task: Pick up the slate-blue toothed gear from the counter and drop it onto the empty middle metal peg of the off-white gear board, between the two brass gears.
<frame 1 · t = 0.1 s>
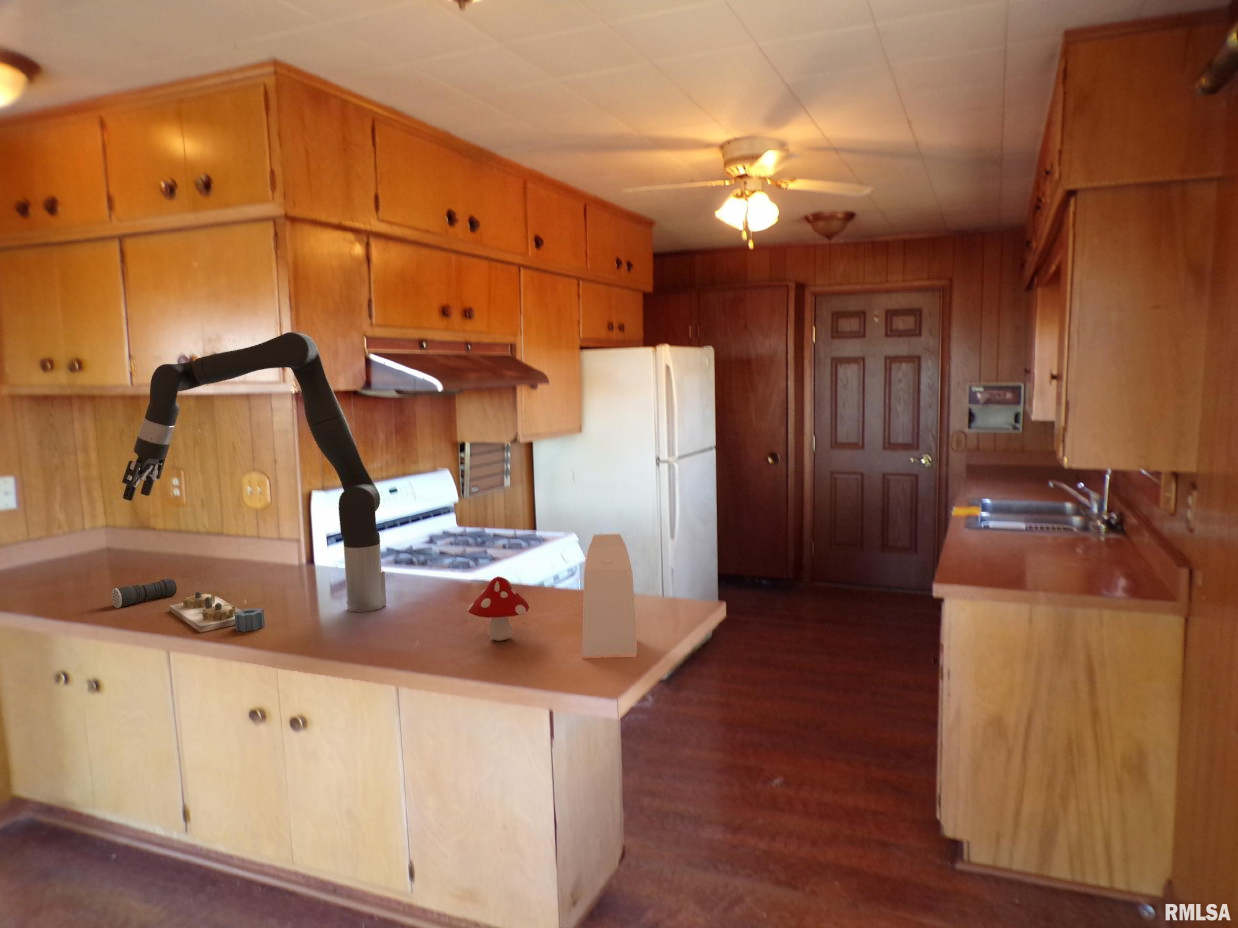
hand: (136, 497, 211), 31 cm above the table, fingers open, 8 cm apart
loose gear: (250, 627, 203), on the table
decorative mushroom: (501, 640, 190), on the table
flashlight: (145, 602, 229), on the table
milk: (609, 649, 183), on the table
gear board: (209, 616, 213), on the table
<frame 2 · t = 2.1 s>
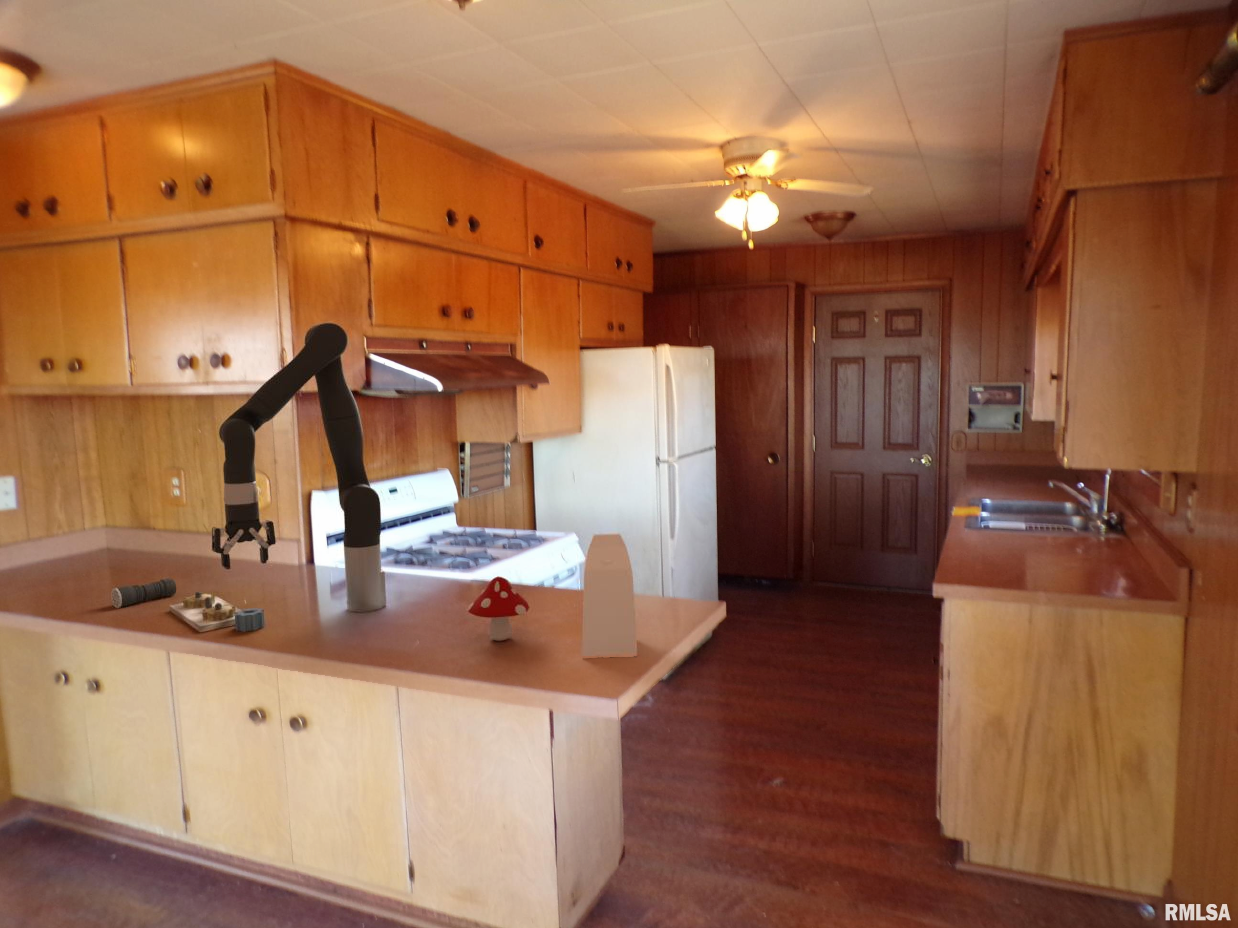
hand: (245, 565, 201), 16 cm above the table, fingers open, 8 cm apart
nothing on the table moved.
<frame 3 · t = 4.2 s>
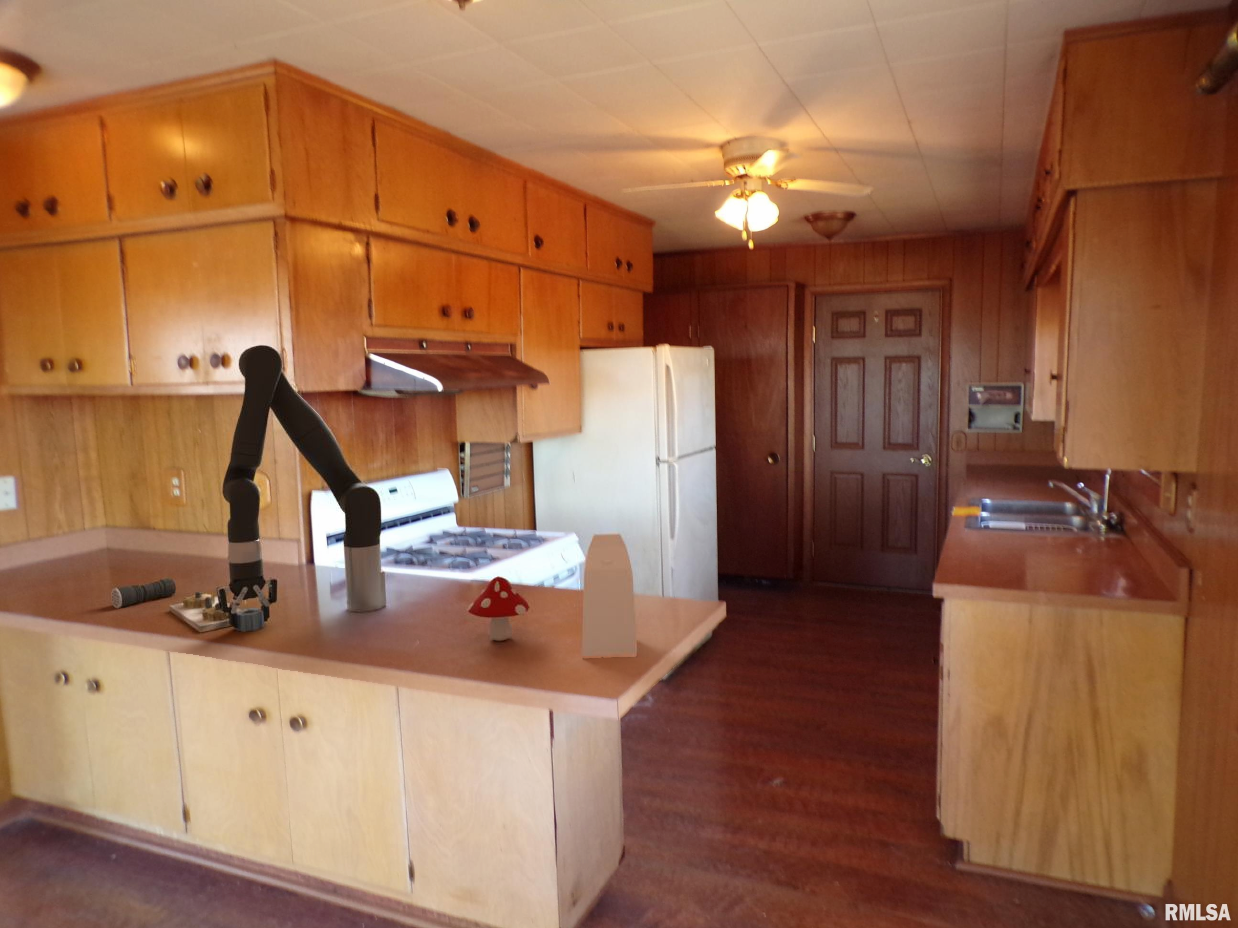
hand: (250, 623, 203), 1 cm above the table, fingers closed on loose gear, 6 cm apart
loose gear: (250, 627, 203), on the table, touching gripper
everything else where it was.
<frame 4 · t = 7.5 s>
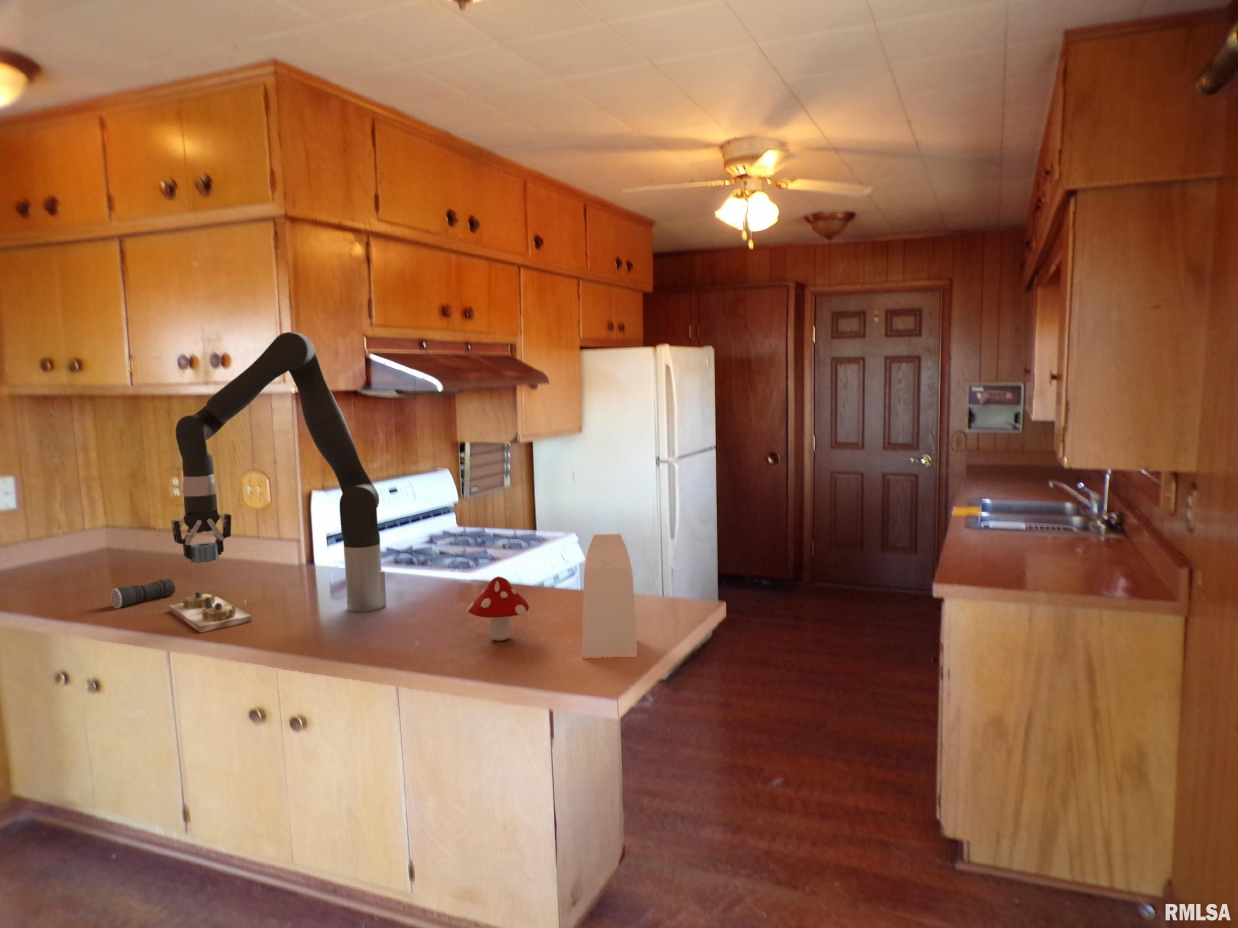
hand: (204, 556, 211), 16 cm above the table, fingers closed on loose gear, 6 cm apart
loose gear: (204, 559, 211), point 15 cm above the table, touching gripper
everything else where it was.
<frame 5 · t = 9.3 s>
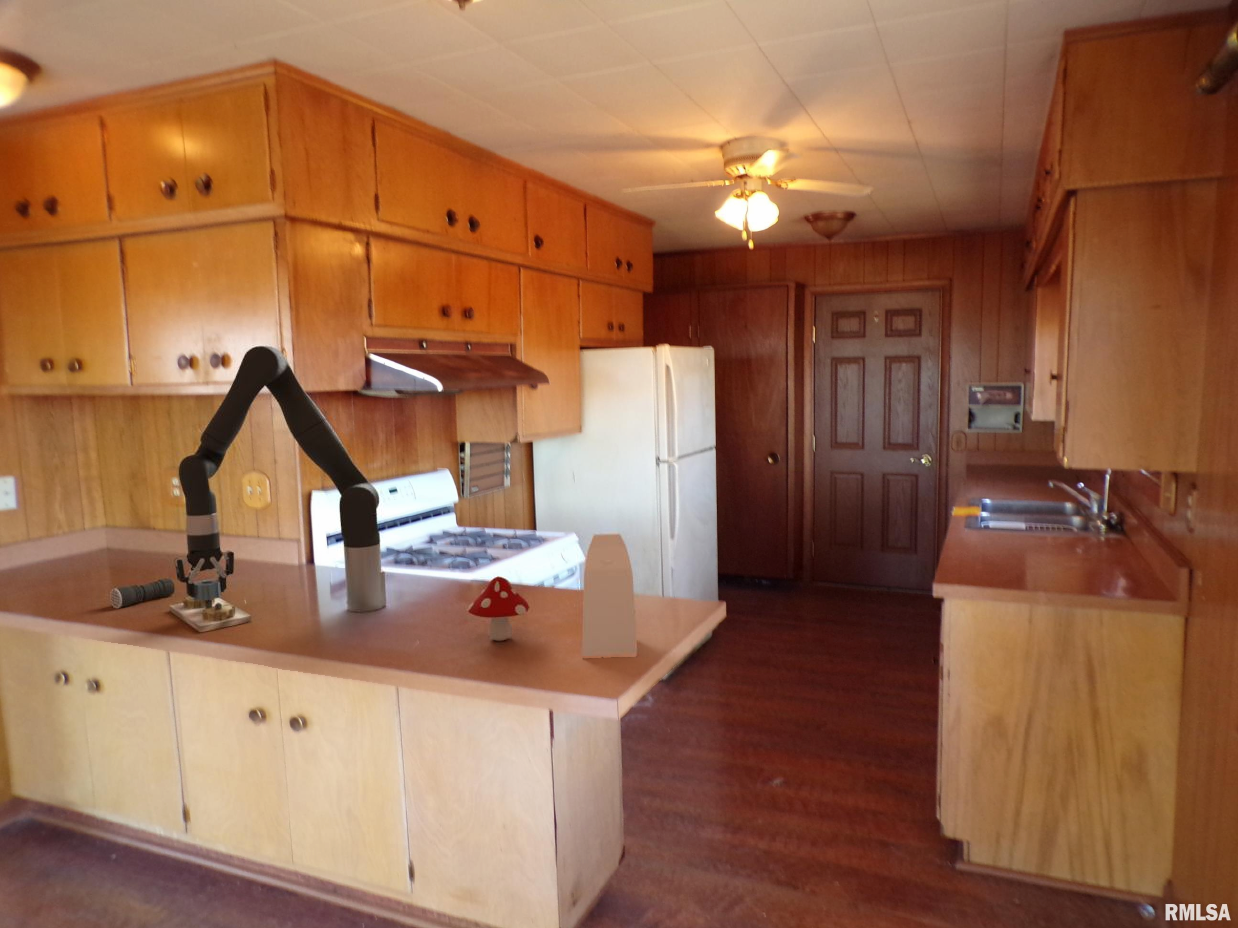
hand: (207, 593, 212), 6 cm above the table, fingers closed on loose gear, 6 cm apart
loose gear: (207, 597, 212), point 5 cm above the table, touching gripper
everything else where it was.
when the fingers open (4 cm above the table, at t = 10.8 s): loose gear drops 1 cm, resting on gear board.
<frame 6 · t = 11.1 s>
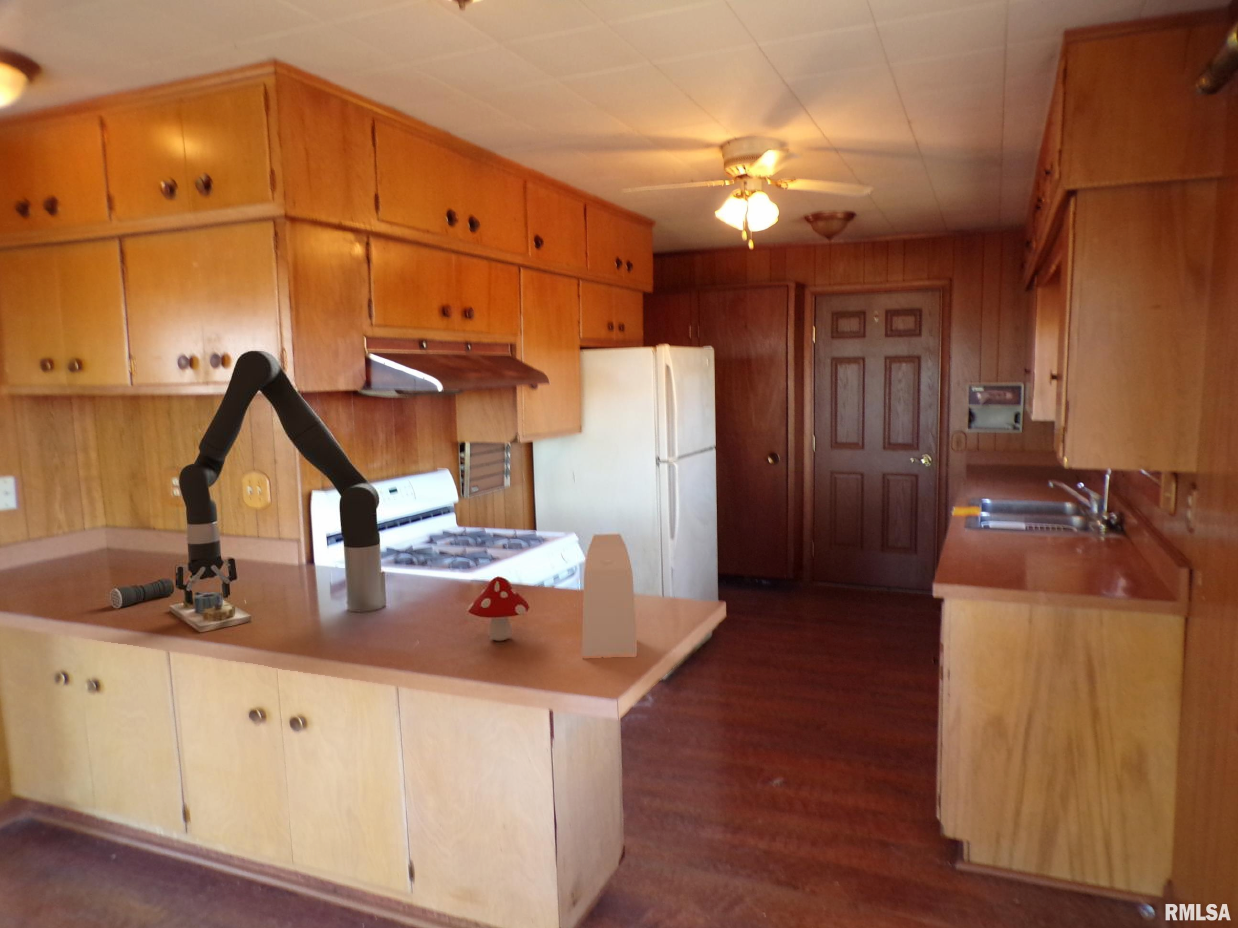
hand: (208, 600, 213), 4 cm above the table, fingers open, 8 cm apart
loose gear: (209, 610, 213), point 1 cm above the table, touching gear board
everything else where it was.
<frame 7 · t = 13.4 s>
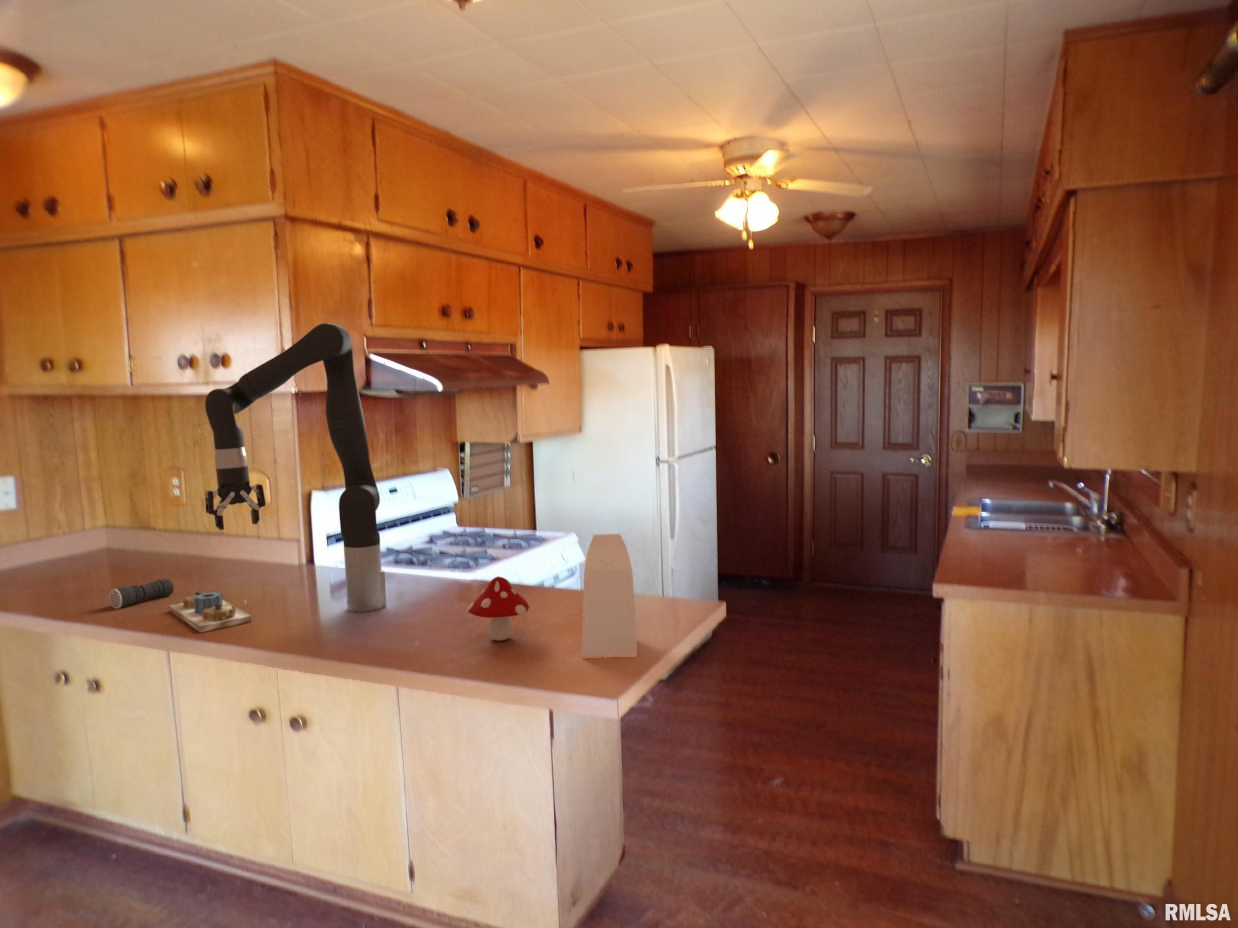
hand: (238, 526, 214), 23 cm above the table, fingers open, 8 cm apart
nothing on the table moved.
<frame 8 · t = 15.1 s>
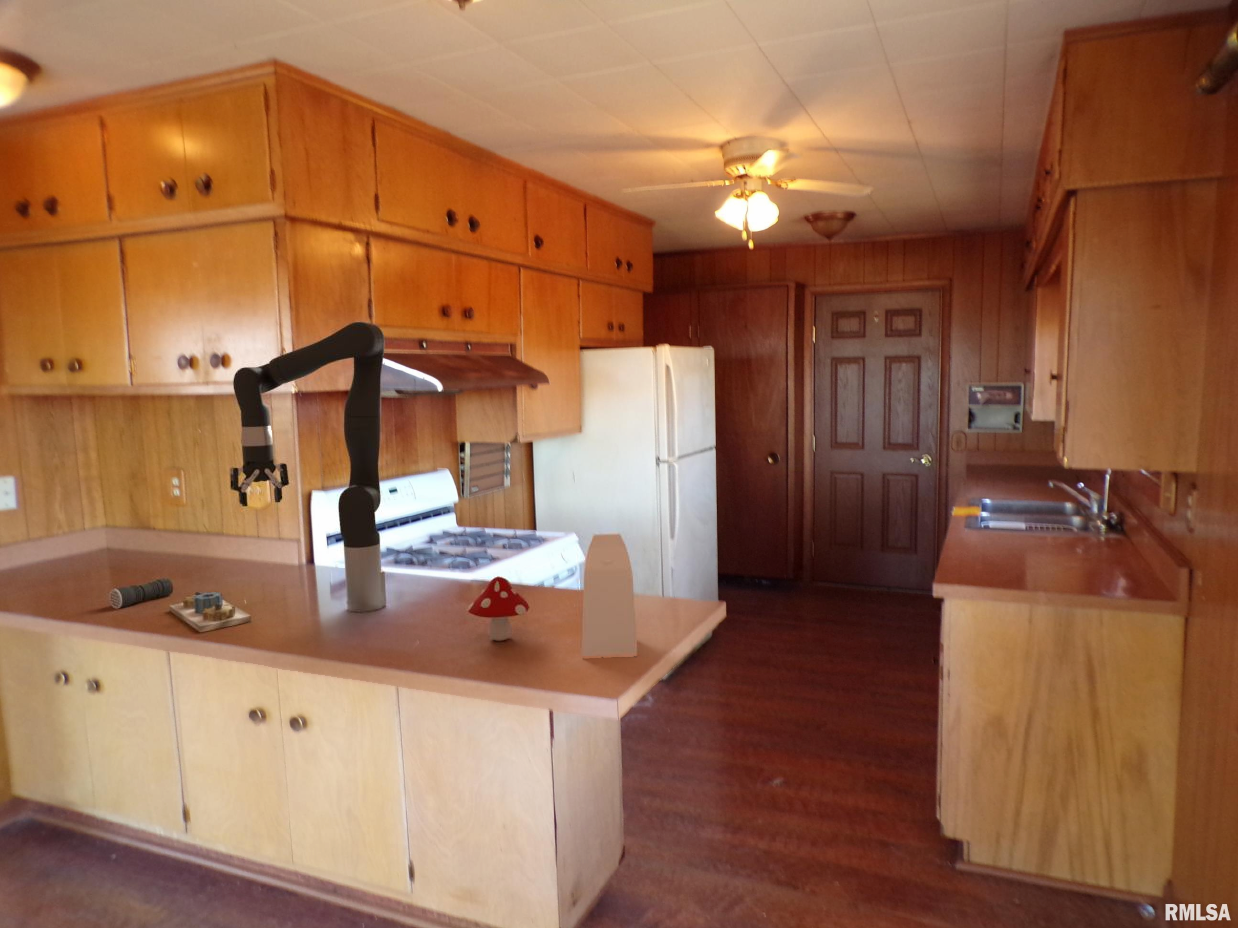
hand: (261, 504, 217), 28 cm above the table, fingers open, 8 cm apart
nothing on the table moved.
at the end: loose gear 0.0 cm off-centre on the gear board, point 1.5 cm above the gear board's base; loose gear tilted 0°; the gripper is holding nothing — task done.
